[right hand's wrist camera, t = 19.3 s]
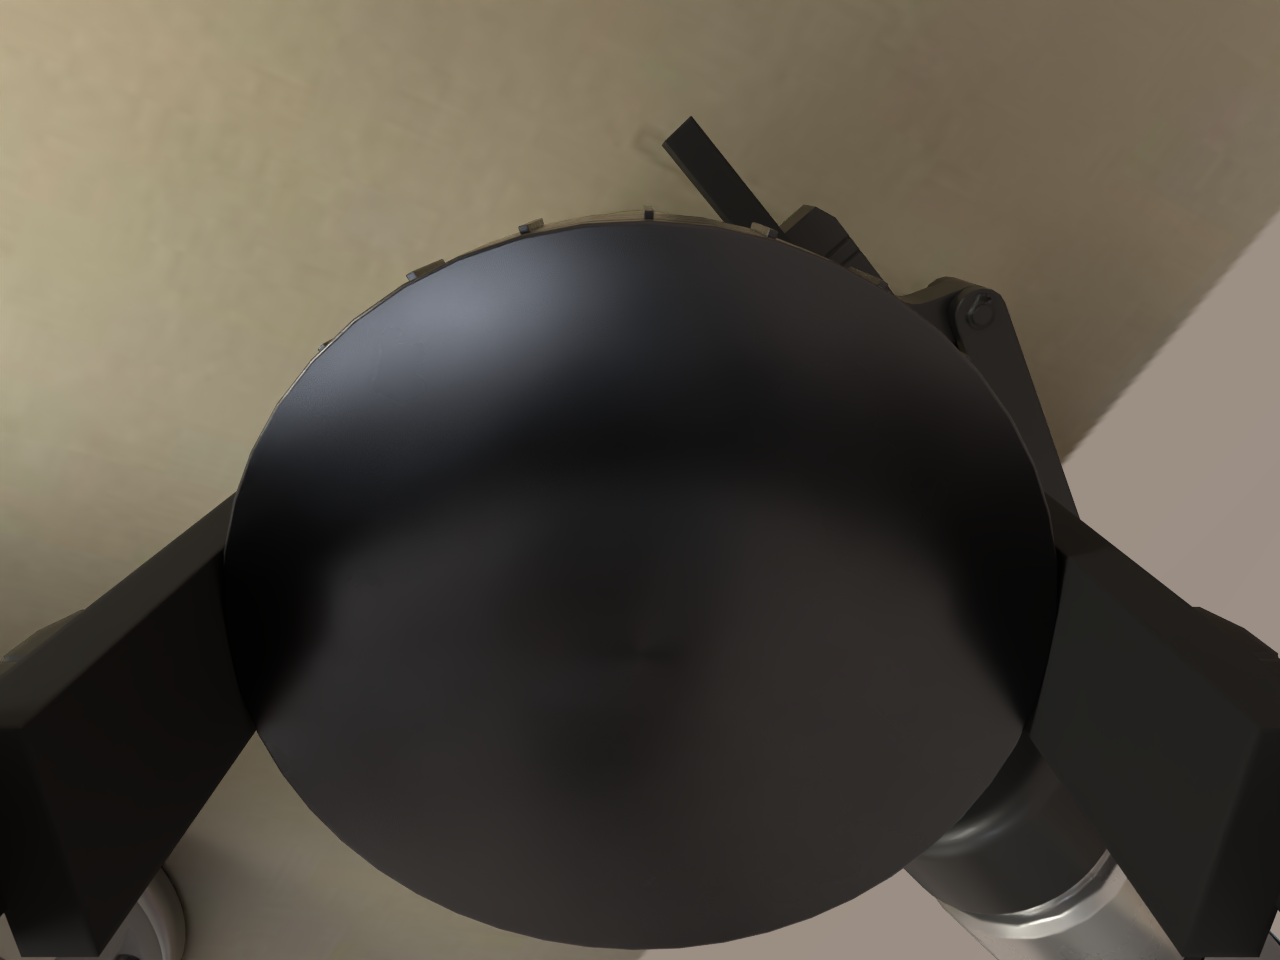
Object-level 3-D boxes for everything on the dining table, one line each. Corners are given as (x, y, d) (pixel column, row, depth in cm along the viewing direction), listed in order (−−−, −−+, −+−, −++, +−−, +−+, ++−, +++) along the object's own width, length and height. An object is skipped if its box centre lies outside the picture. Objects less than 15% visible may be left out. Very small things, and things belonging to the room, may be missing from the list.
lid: (734, 19, 9) (758, -20, 8) (1114, 641, 12) (1198, 725, 11) (133, 511, 12) (35, 576, 10) (580, 935, 15) (571, 1047, 13)
